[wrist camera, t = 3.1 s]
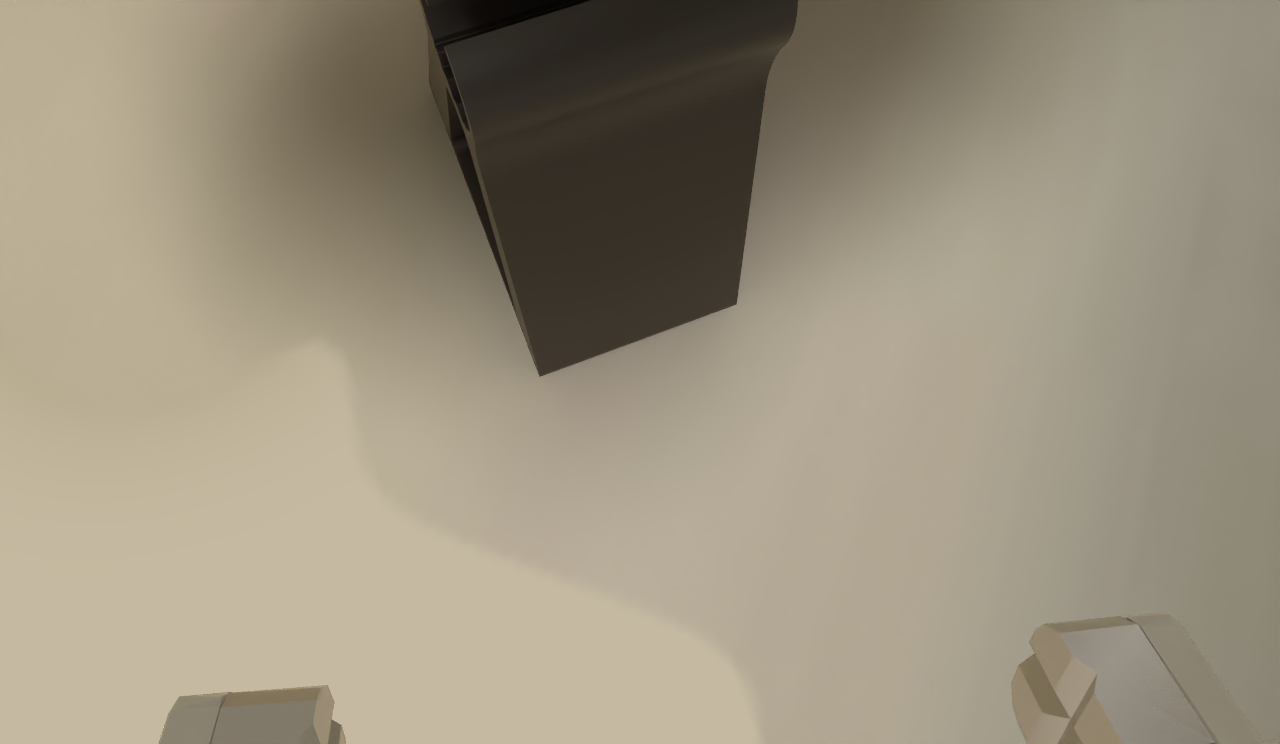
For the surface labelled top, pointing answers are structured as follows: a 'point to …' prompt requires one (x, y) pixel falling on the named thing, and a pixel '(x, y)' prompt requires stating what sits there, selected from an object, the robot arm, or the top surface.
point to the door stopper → (607, 154)
